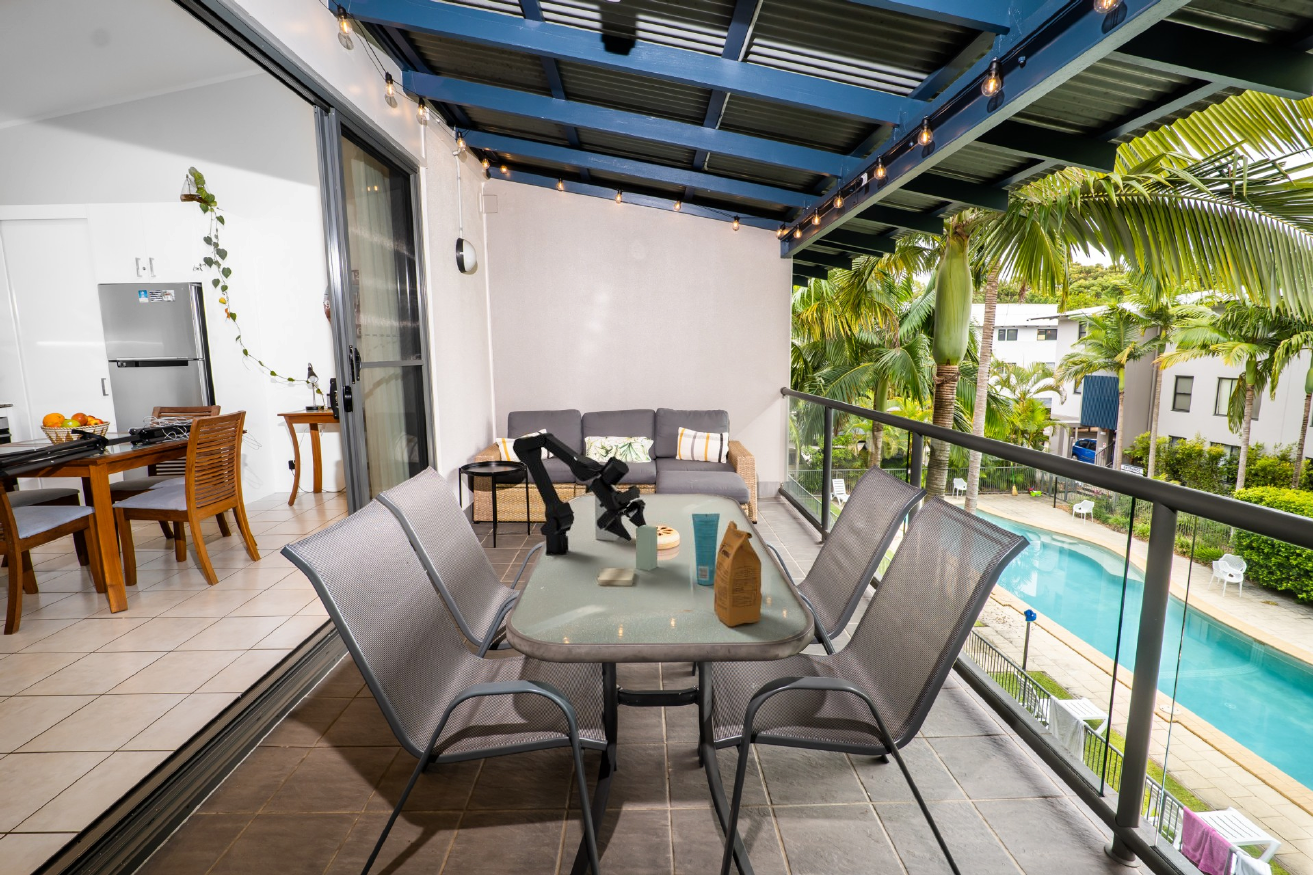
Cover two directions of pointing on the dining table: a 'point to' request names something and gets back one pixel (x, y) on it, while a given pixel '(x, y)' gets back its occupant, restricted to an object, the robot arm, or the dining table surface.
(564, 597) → the dining table surface
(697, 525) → the tube
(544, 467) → the robot arm
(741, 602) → the coffee package
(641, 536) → the post
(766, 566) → the dining table surface
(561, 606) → the dining table surface
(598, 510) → the milk carton
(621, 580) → the slab top
